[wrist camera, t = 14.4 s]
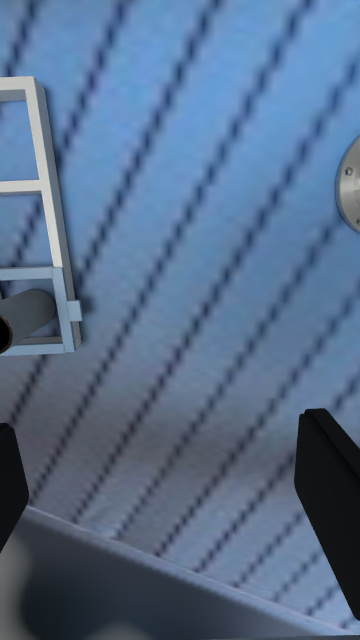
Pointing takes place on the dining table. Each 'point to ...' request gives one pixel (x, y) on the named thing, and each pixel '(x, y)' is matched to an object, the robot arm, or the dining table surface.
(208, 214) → the dining table surface
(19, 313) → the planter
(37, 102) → the white ladder frame
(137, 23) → the dining table surface
